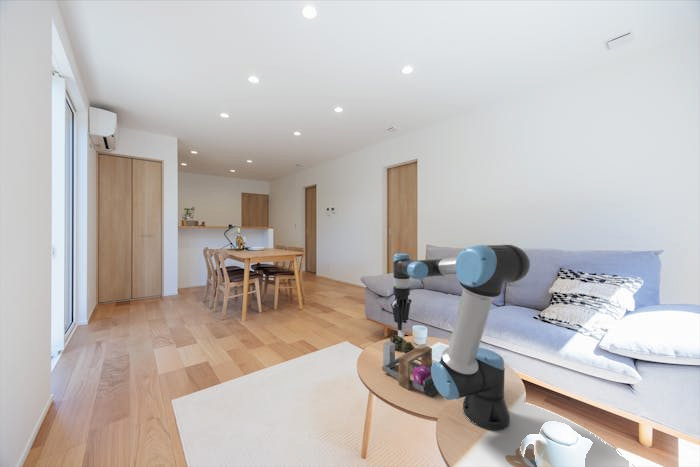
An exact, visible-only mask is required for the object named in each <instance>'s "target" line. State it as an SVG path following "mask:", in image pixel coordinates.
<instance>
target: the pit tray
mask: <svg viewBox="0 0 700 467" xmlns="http://www.w3.org/2000/svg"><path fill="white" fill-rule="evenodd" d="M424 394H425V395H428V396H429V397H431V398H434V397H436V395H438V394H440V393H439V392H438V390H437V388H436V387H435V385H432V386H431V387H429V388H428V389H427V390H425V391H424Z"/></svg>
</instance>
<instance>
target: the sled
mask: <svg viewBox="0 0 700 467" xmlns="http://www.w3.org/2000/svg"><path fill="white" fill-rule="evenodd" d="M382 344H383V349H382V351H383V354H382V356H383V358H382V359H383V362H382V364H383V365H382V366H381V369H382V371H383V372H385V373H387V374H389V375H391V376H392V377H394V378H396V379H398V380H399V372H397V371H395V370H393V369H391V368H394V367H395V366H396V365H397V364H399V357H397V358H396V350H395V343H392V342H391V341H390V340H388V341H386V342H383V343H382ZM410 366H412V367H413V368H417V367H422V366H424V365H421V363H418V362H417V361H413V362H411V363H410ZM425 367H426V366H425ZM426 368H427V369H429V370H430V371H431V369H430V368H428V367H426ZM433 385H434V382H433V379H432V375H430V376H429V377H427V378H426V379H424V380H423V385H422V384H420V383H418V382H416V381H414V379H411V378H410V386H412V387H414V388H415V389H418V390H419V391H421V392H424V393H425V391H426V390H428V389H429V388H430V387H432V386H433Z"/></svg>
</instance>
